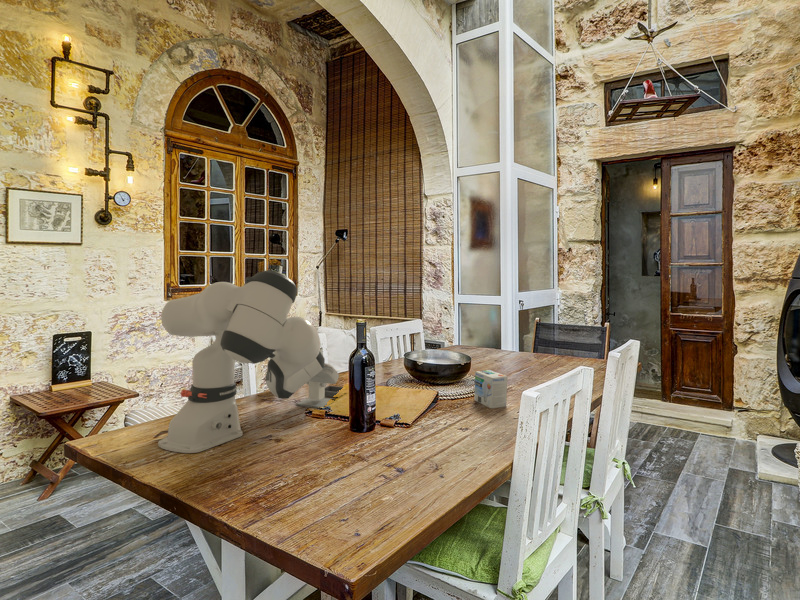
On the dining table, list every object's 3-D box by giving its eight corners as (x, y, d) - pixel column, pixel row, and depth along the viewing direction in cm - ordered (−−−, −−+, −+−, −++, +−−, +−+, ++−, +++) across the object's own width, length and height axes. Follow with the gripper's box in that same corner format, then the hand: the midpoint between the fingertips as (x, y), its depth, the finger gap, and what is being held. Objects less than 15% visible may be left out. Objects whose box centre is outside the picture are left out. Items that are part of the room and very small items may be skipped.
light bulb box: (473, 400, 172) (474, 371, 171) (489, 398, 175) (489, 369, 174) (491, 408, 162) (492, 377, 161) (507, 406, 165) (508, 376, 164)
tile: (321, 408, 160) (321, 407, 159) (296, 405, 163) (296, 403, 163) (336, 400, 169) (336, 399, 169) (311, 397, 172) (311, 396, 172)
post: (318, 400, 163) (318, 375, 163) (308, 398, 165) (308, 374, 164) (324, 397, 167) (324, 373, 166) (314, 395, 168) (314, 372, 168)
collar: (337, 398, 172) (337, 392, 172) (319, 395, 175) (319, 390, 175) (347, 392, 179) (347, 387, 179) (329, 390, 182) (329, 385, 182)
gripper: (333, 357, 154) (347, 379, 164) (280, 351, 162) (296, 374, 171) (326, 373, 151) (341, 395, 160) (272, 367, 158) (289, 389, 168)
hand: (317, 384), depth 166 cm, fingers closed on post, 4 cm apart
